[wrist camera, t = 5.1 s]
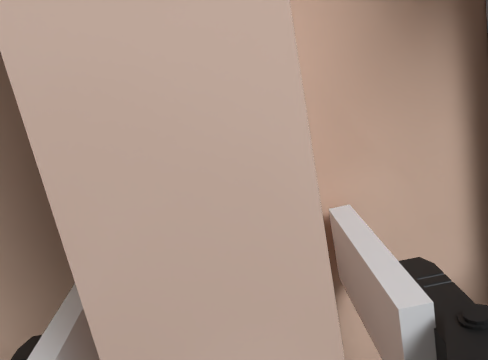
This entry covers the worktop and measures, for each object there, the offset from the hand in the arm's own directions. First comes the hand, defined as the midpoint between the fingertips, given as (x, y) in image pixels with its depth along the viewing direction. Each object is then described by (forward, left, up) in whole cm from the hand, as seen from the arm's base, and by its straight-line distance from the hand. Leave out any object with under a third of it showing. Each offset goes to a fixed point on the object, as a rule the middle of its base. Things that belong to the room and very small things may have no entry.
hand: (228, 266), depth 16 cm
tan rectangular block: (0, +6, -1) cm, 6 cm away
